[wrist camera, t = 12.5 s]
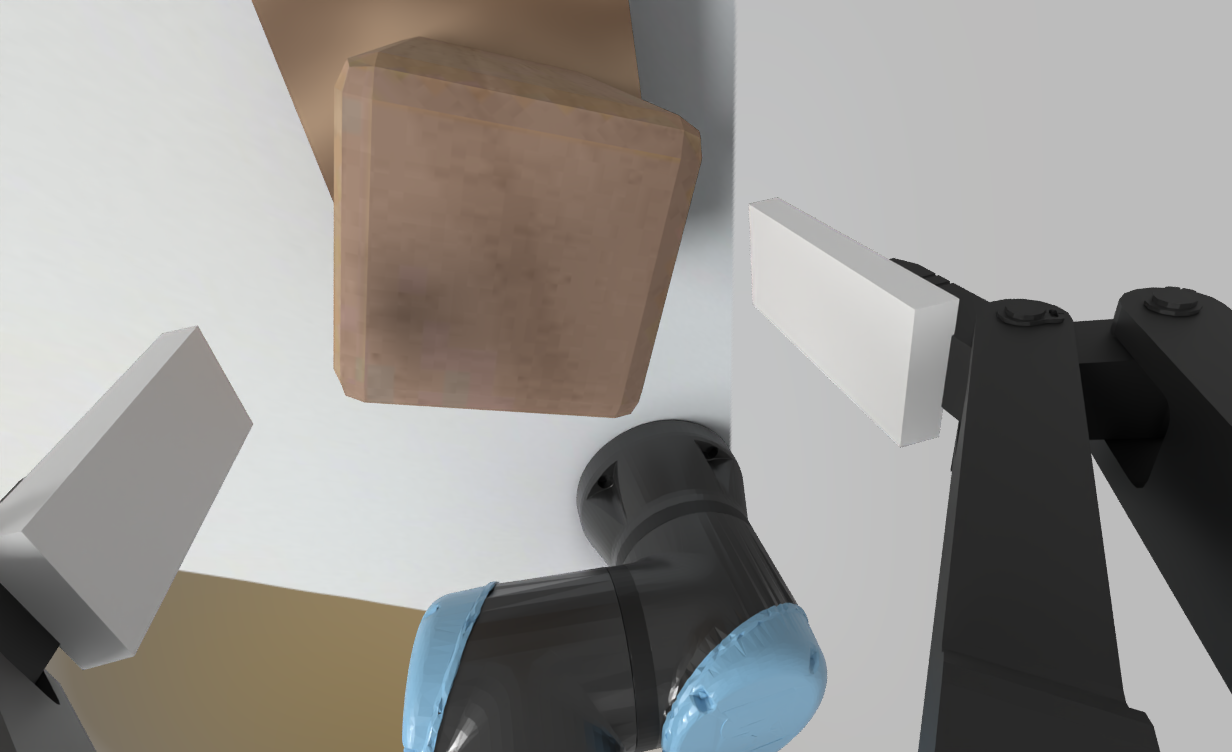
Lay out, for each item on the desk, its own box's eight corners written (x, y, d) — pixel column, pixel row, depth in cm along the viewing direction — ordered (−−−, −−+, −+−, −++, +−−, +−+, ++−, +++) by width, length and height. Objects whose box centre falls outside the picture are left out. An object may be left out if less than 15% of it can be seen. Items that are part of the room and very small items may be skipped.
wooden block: (592, 74, 34) (724, 127, 17) (562, 250, 38) (642, 431, 22) (399, 31, 31) (326, 43, 14) (390, 226, 36) (327, 413, 19)
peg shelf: (640, 234, 45) (663, 261, 40) (393, 293, 44) (385, 329, 39) (595, -63, 36) (618, -77, 31) (279, -5, 34) (248, -9, 29)
